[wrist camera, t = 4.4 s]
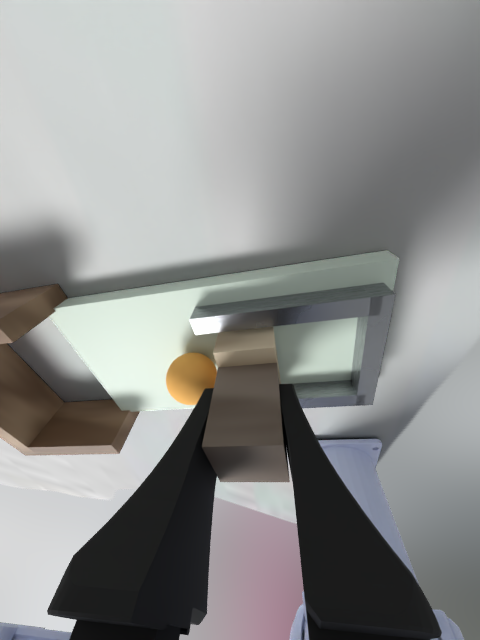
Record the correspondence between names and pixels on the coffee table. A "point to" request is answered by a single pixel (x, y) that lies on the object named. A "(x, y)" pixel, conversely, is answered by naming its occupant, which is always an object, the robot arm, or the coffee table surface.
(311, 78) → the coffee table surface
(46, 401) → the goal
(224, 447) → the block
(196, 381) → the ball
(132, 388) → the plate
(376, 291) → the rail
